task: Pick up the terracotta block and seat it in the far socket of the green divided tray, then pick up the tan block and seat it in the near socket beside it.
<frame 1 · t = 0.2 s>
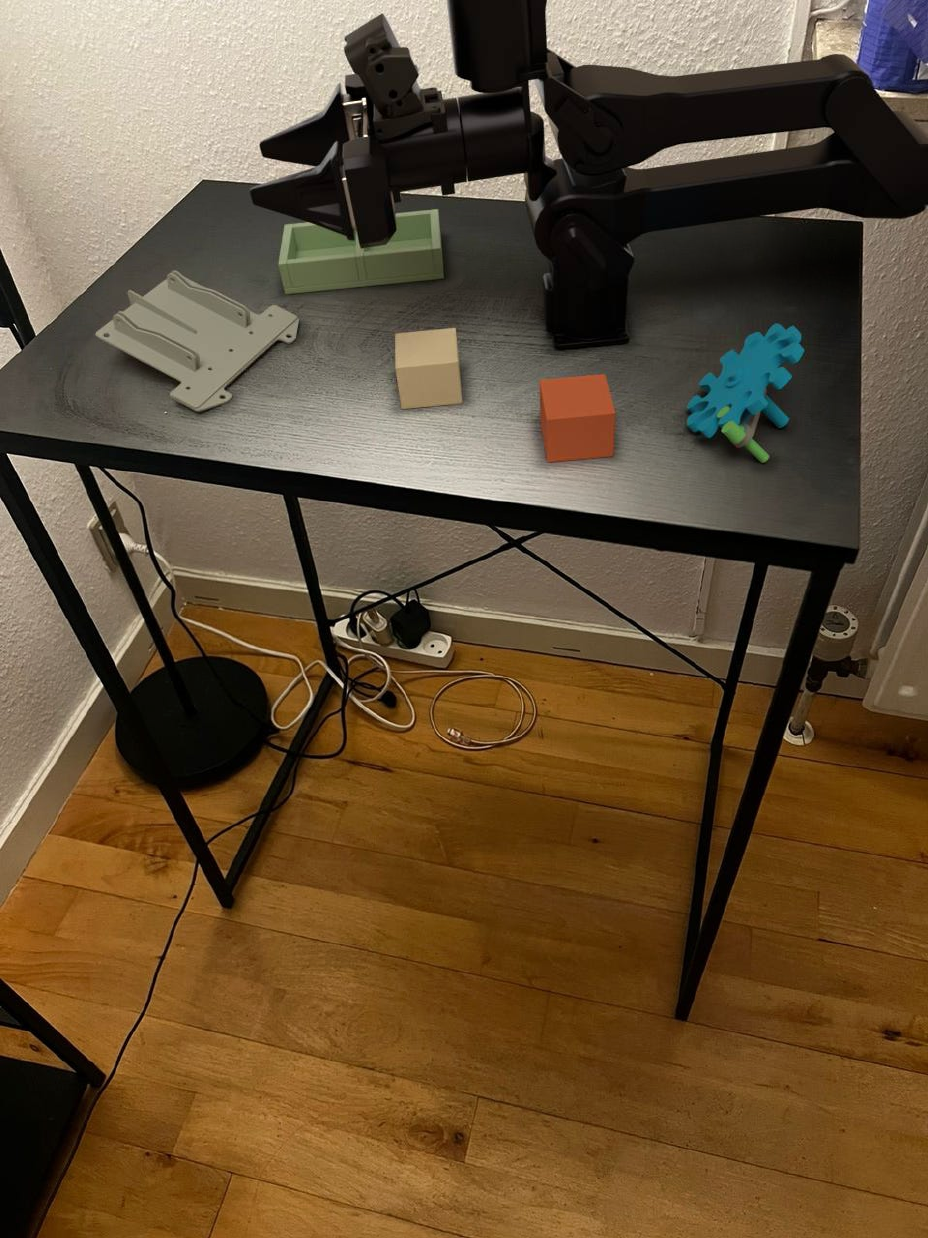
hand: (256, 171, 71), 16 cm above the table, tool horizontal, fingers open, 9 cm apart
terracotta block: (576, 439, 72), on the table
gear: (734, 429, 72), on the table
tan block: (431, 388, 78), on the table
green divided tray: (365, 265, 93), on the table
metal bracket: (198, 355, 85), on the table
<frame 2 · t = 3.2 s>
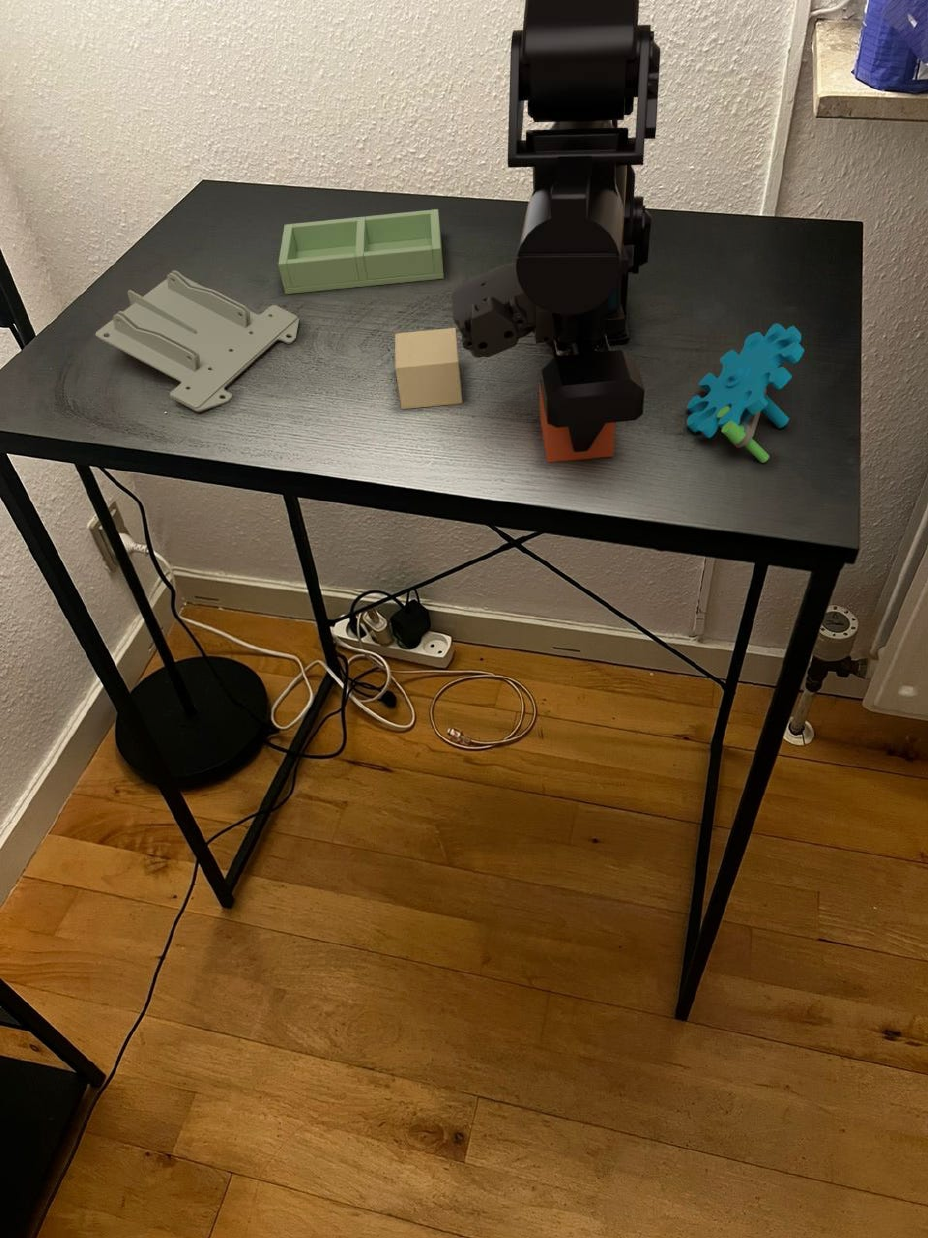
hand: (576, 428, 72), 1 cm above the table, tool pointing down, fingers closed on terracotta block, 5 cm apart
terracotta block: (576, 439, 72), on the table, touching gripper
everything else where it was.
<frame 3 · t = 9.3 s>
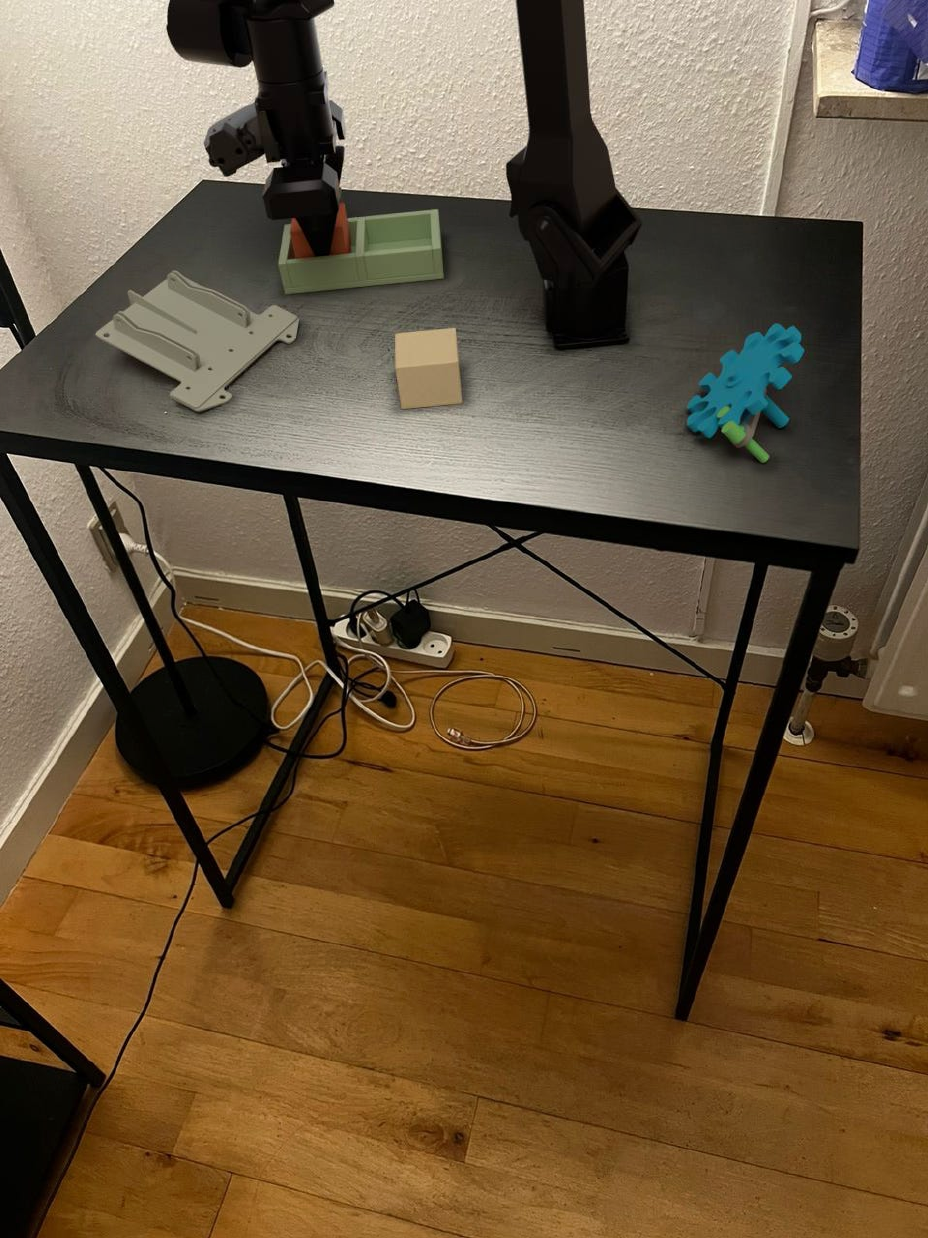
hand: (324, 247, 92), 2 cm above the table, tool pointing down, fingers closed on terracotta block, 5 cm apart
terracotta block: (325, 256, 92), point 1 cm above the table, touching gripper
everything else where it was.
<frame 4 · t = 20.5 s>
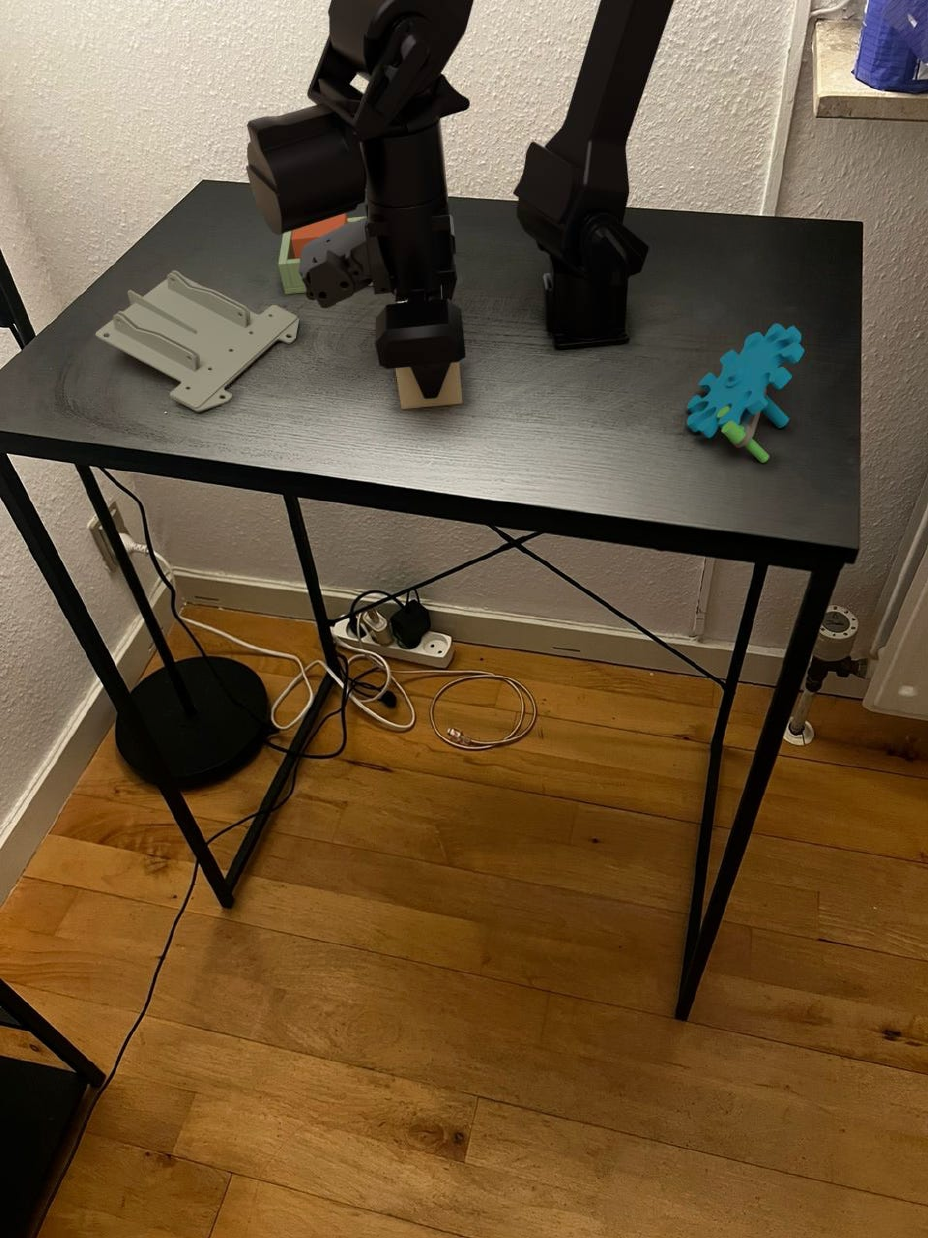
hand: (430, 378, 78), 1 cm above the table, tool pointing down, fingers closed on tan block, 5 cm apart
terracotta block: (326, 263, 93), point 1 cm above the table, touching green divided tray
tan block: (431, 388, 78), on the table, touching gripper
everything else where it was.
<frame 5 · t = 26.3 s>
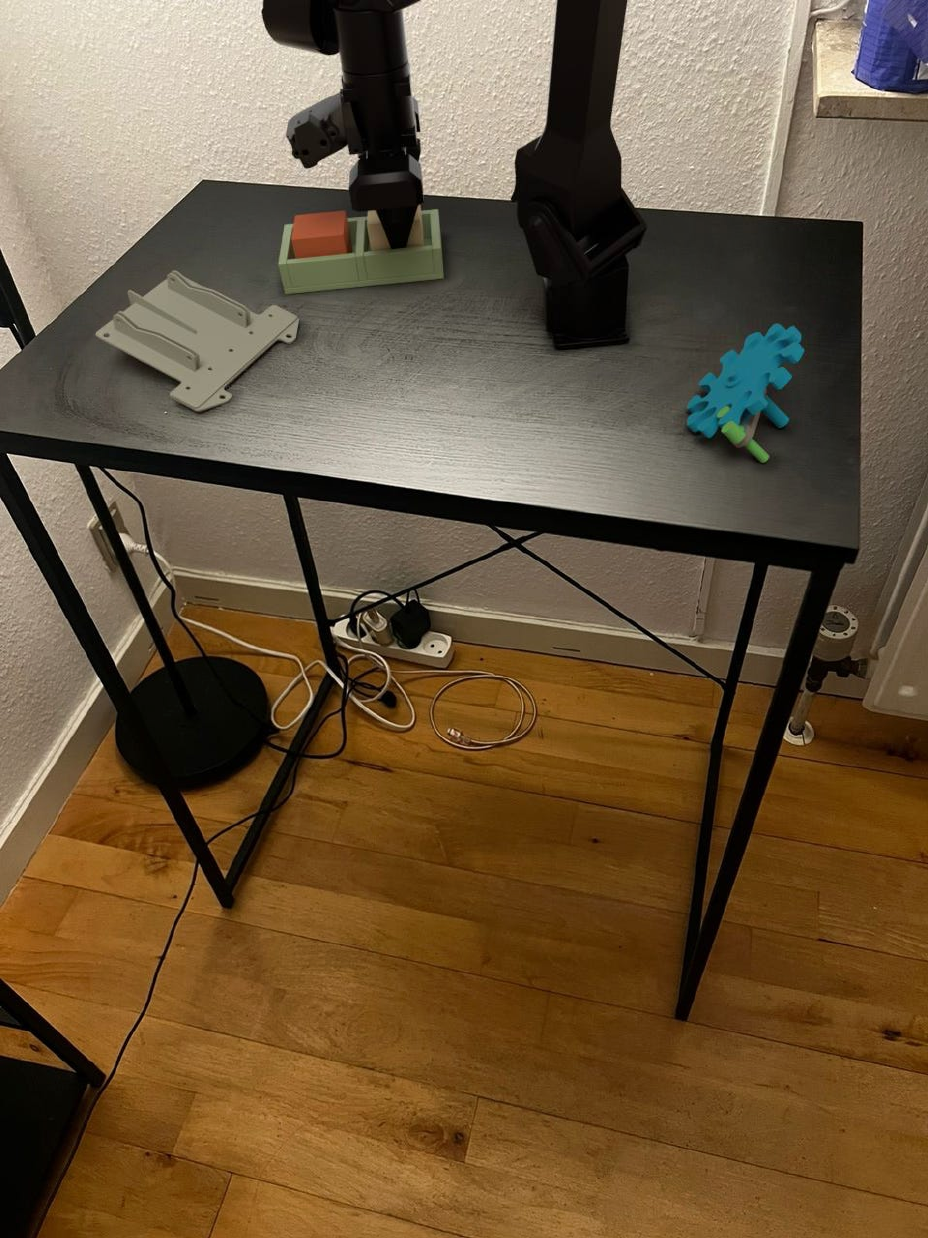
hand: (398, 239, 91), 2 cm above the table, tool pointing down, fingers closed on tan block, 5 cm apart
tan block: (399, 249, 92), point 1 cm above the table, touching gripper
everything else where it was.
when the fingers open (3 cm above the table, at t = 32.0 s): tan block drops 2 cm, resting on green divided tray.
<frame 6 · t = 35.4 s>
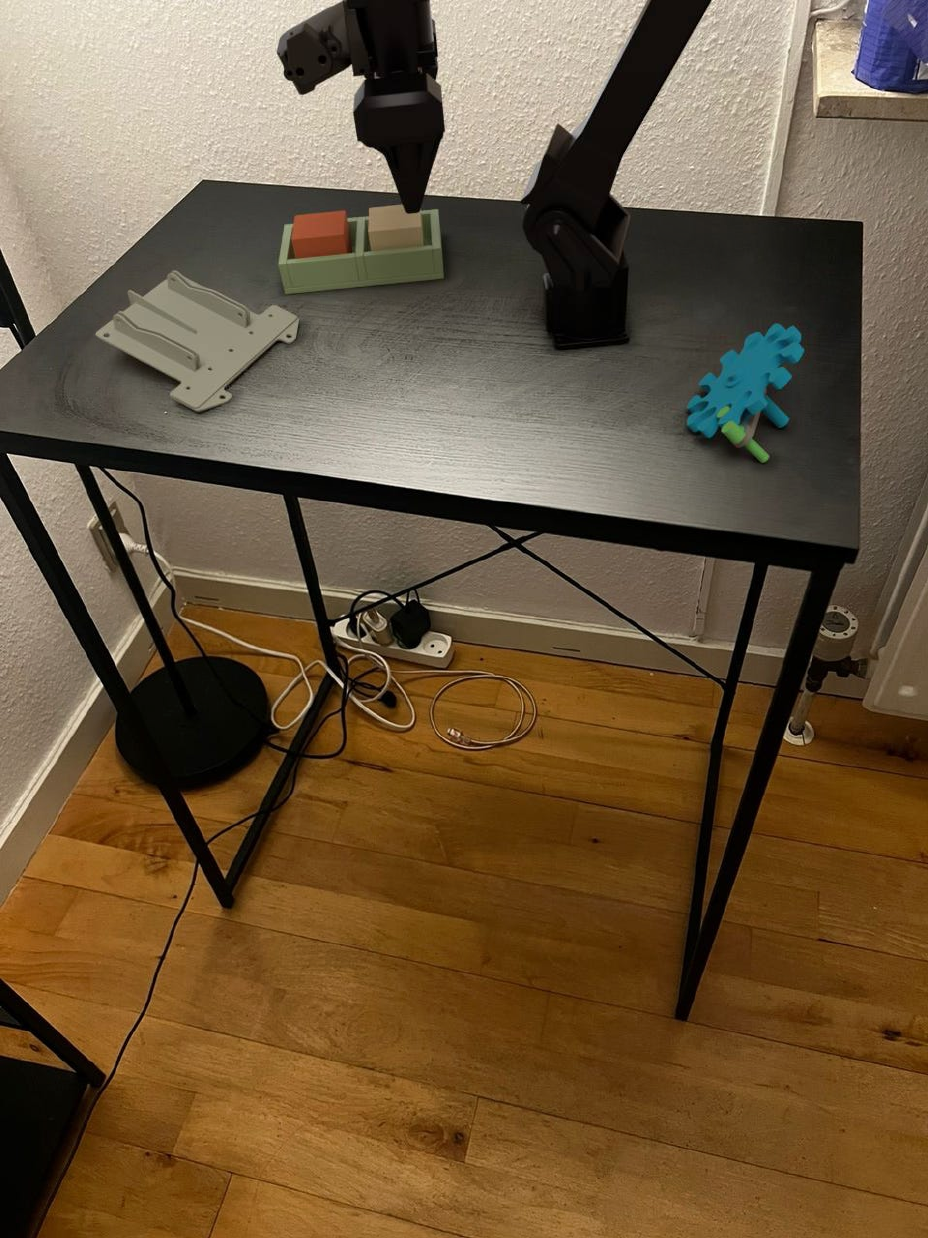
hand: (411, 186, 77), 12 cm above the table, tool pointing down, fingers open, 9 cm apart
tan block: (400, 256, 93), point 1 cm above the table, touching green divided tray
everything else where it was.
at the end: terracotta block 0.1 cm from the target spot in the green divided tray, point 0.6 cm above the green divided tray's base; tan block 0.0 cm from the target spot in the green divided tray, point 0.6 cm above the green divided tray's base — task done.
